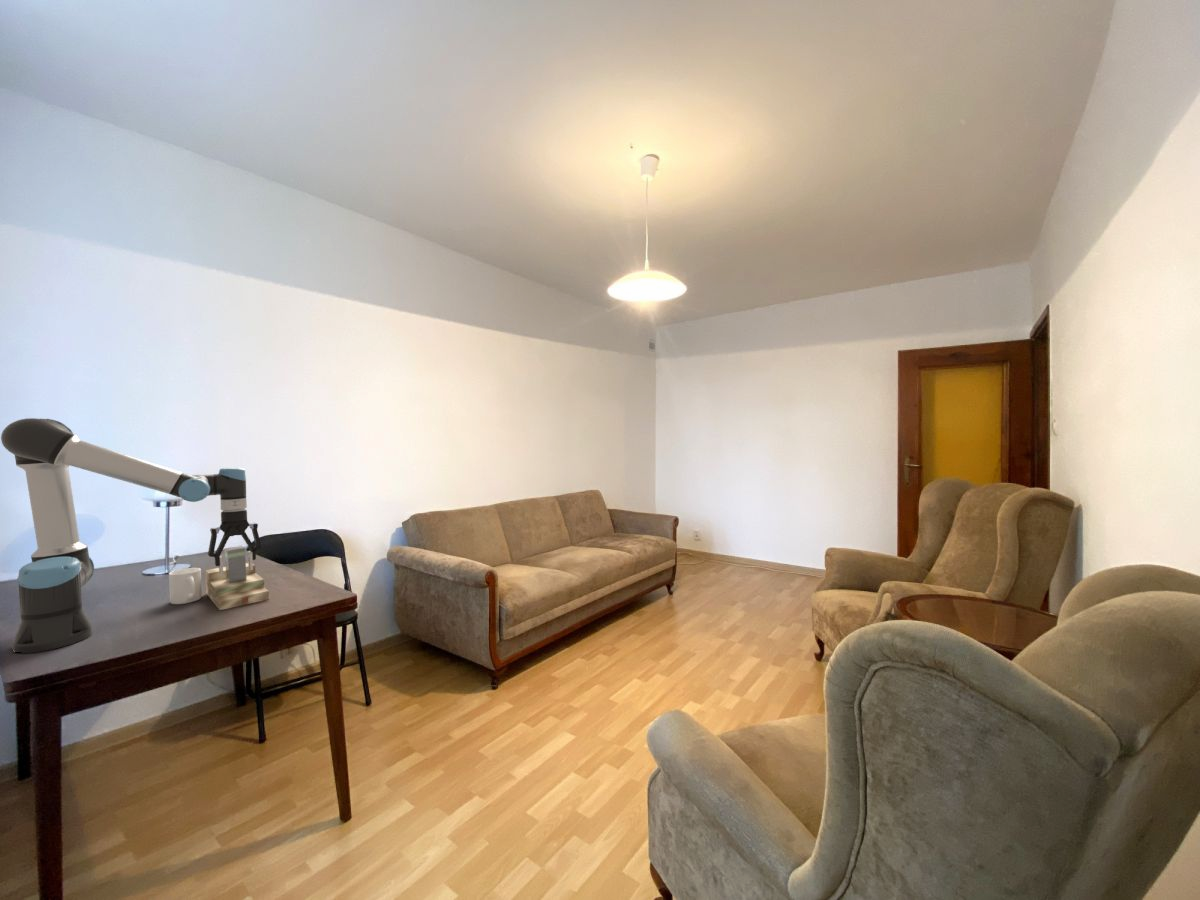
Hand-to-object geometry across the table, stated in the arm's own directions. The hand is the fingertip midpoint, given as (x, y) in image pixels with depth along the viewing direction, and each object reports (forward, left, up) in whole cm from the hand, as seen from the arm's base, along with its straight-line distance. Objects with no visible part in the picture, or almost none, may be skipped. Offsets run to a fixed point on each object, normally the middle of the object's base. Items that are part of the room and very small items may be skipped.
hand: (236, 571), depth 173 cm
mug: (-13, +7, -9) cm, 18 cm away
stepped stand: (0, 0, -9) cm, 9 cm away
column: (0, 0, -3) cm, 3 cm away
